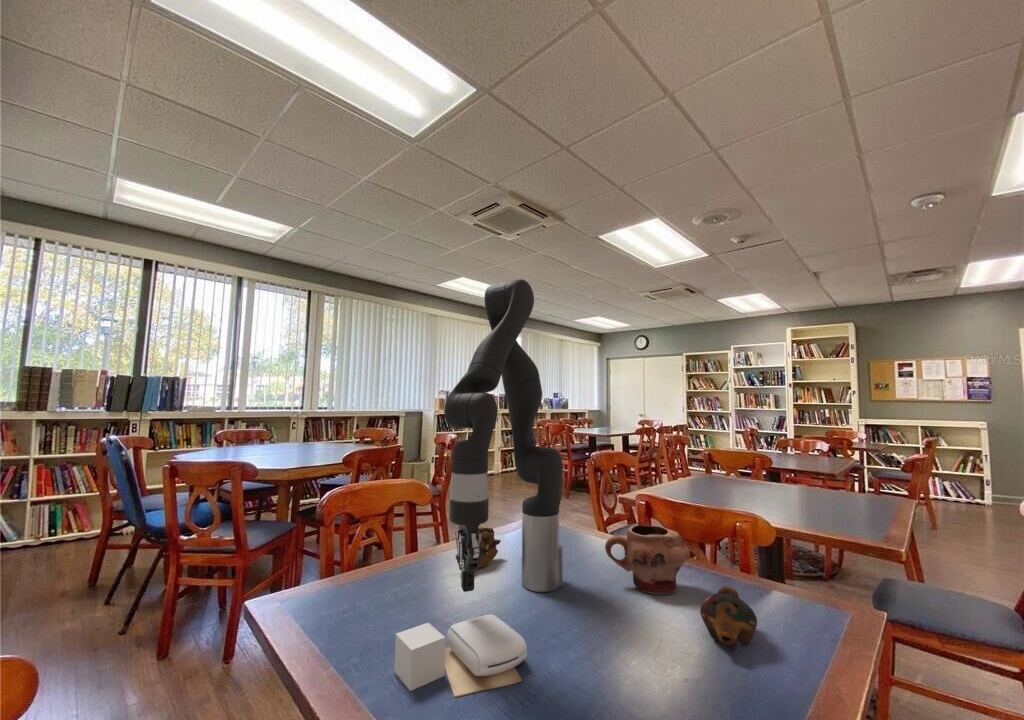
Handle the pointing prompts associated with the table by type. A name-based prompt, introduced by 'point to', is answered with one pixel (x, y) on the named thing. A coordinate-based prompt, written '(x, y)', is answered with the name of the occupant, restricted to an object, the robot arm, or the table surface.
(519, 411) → the robot arm
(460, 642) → the photo printer
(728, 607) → the decorative turtle
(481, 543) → the wooden carving
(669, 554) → the sculpted ceramic mug
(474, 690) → the cork mat
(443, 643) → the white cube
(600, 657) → the table surface
